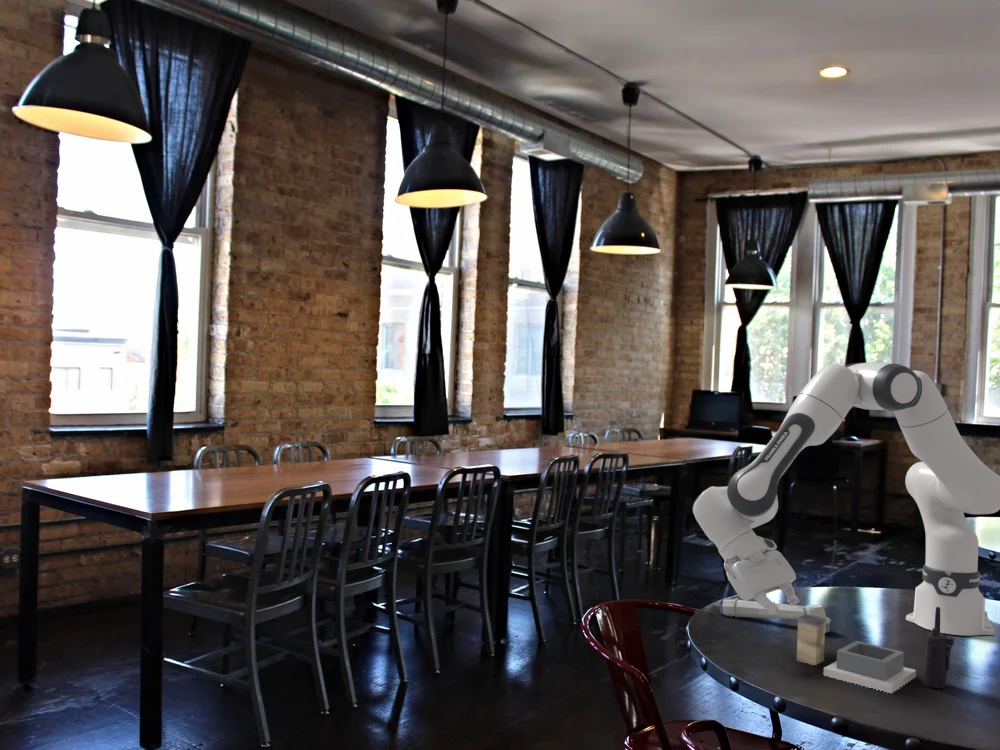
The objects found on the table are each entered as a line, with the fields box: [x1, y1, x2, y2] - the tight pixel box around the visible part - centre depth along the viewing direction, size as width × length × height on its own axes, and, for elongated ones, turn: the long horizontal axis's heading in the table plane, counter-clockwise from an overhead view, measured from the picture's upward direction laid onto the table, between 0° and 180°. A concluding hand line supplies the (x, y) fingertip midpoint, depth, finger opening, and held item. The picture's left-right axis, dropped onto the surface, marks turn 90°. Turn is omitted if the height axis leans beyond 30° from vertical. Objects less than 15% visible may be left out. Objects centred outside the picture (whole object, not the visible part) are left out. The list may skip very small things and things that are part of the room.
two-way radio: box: [925, 607, 955, 690], centre depth 170 cm, size 6×4×15 cm
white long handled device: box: [719, 598, 831, 634], centre depth 209 cm, size 5×7×25 cm
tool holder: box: [823, 640, 917, 695], centre depth 174 cm, size 13×13×5 cm
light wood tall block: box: [796, 614, 826, 666], centre depth 183 cm, size 4×4×9 cm
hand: (785, 608), depth 187 cm, fingers open, 8 cm apart
